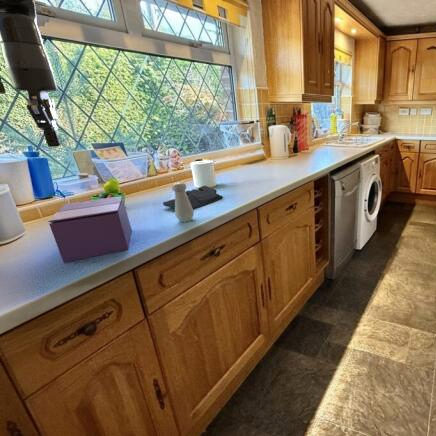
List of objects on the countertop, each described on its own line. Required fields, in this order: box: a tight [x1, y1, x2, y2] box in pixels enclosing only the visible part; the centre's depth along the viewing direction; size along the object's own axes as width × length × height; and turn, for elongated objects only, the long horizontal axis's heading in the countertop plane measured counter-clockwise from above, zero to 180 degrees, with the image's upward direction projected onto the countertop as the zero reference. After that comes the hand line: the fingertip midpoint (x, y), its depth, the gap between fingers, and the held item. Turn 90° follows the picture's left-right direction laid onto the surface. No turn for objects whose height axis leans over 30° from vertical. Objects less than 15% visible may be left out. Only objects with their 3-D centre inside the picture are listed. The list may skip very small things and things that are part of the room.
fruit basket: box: [90, 177, 126, 205], centre depth 120 cm, size 11×9×11 cm
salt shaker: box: [171, 182, 195, 223], centre depth 101 cm, size 6×6×13 cm
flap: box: [48, 203, 120, 223], centre depth 79 cm, size 8×14×1 cm, turn 119°
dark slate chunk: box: [162, 186, 224, 210], centre depth 123 cm, size 15×22×5 cm
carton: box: [48, 196, 132, 264], centre depth 84 cm, size 17×14×11 cm
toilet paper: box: [190, 160, 218, 189], centre depth 150 cm, size 10×10×12 cm
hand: (54, 146), depth 74 cm, fingers closed
